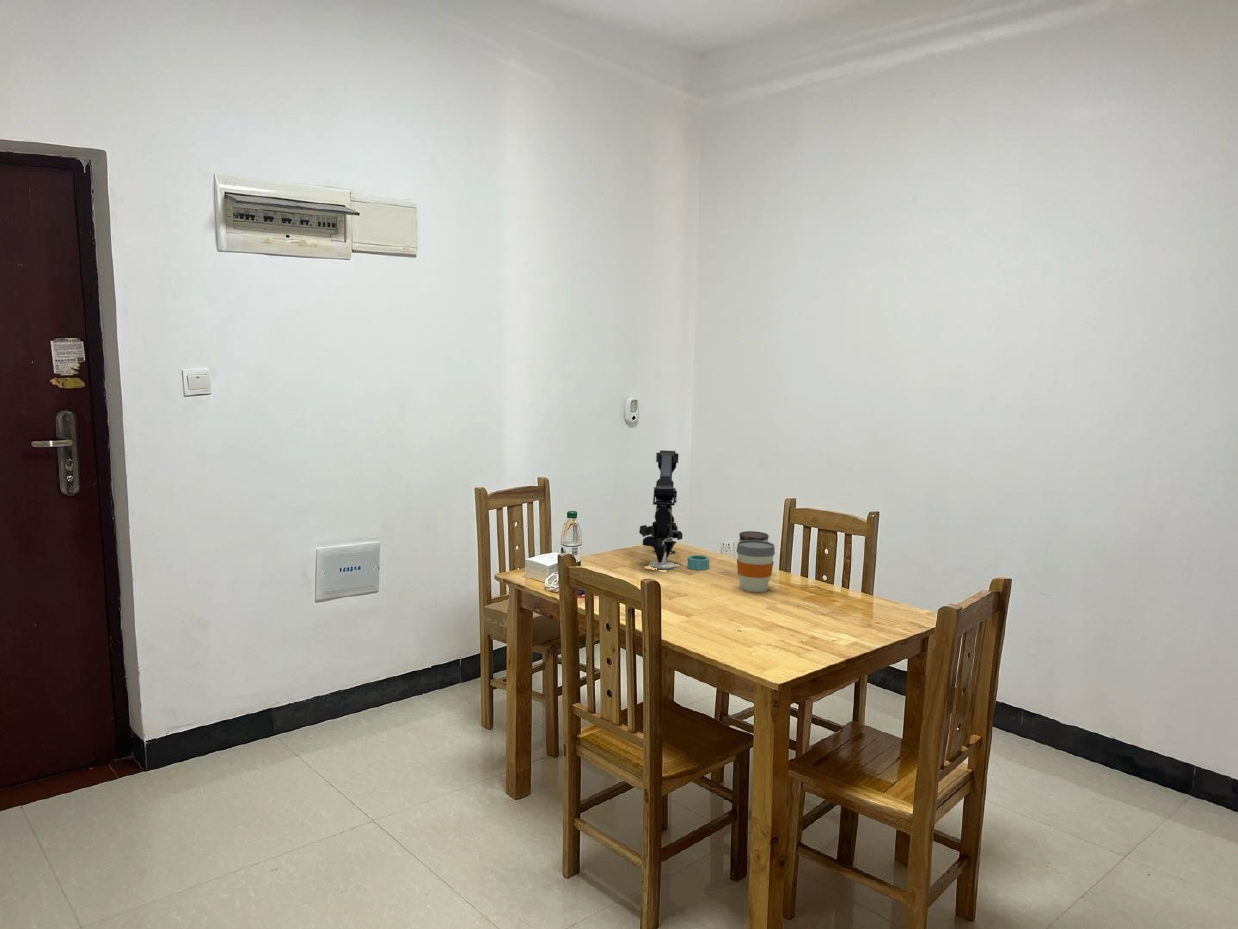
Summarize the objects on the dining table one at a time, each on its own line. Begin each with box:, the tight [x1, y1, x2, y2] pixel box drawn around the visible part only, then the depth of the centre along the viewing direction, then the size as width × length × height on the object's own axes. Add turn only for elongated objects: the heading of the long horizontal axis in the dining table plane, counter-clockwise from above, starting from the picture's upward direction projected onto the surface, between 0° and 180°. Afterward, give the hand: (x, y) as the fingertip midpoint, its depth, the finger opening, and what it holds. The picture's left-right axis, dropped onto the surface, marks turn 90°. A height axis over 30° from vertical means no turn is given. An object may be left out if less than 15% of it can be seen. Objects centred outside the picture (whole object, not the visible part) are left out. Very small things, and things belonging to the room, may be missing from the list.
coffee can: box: [738, 530, 770, 542], centre depth 305 cm, size 10×10×14 cm
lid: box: [649, 551, 675, 569], centre depth 310 cm, size 9×9×5 cm
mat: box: [655, 562, 679, 571], centre depth 310 cm, size 14×10×1 cm
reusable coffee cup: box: [736, 540, 776, 593], centre depth 285 cm, size 13×13×15 cm
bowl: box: [686, 554, 710, 571], centre depth 309 cm, size 8×8×4 cm
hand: (662, 561), depth 310 cm, fingers closed on lid, 3 cm apart
